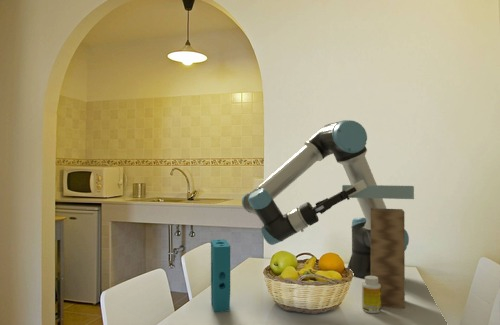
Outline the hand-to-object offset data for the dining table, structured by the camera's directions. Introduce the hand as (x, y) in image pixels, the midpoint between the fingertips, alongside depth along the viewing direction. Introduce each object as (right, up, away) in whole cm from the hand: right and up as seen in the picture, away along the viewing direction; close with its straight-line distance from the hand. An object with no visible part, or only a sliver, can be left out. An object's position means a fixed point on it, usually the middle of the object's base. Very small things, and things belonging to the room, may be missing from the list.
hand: (364, 183), depth 132 cm
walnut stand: (+7, -38, -2) cm, 39 cm away
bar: (+4, -5, -1) cm, 6 cm away
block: (-47, -39, -6) cm, 61 cm away
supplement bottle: (-1, -39, -10) cm, 40 cm away
